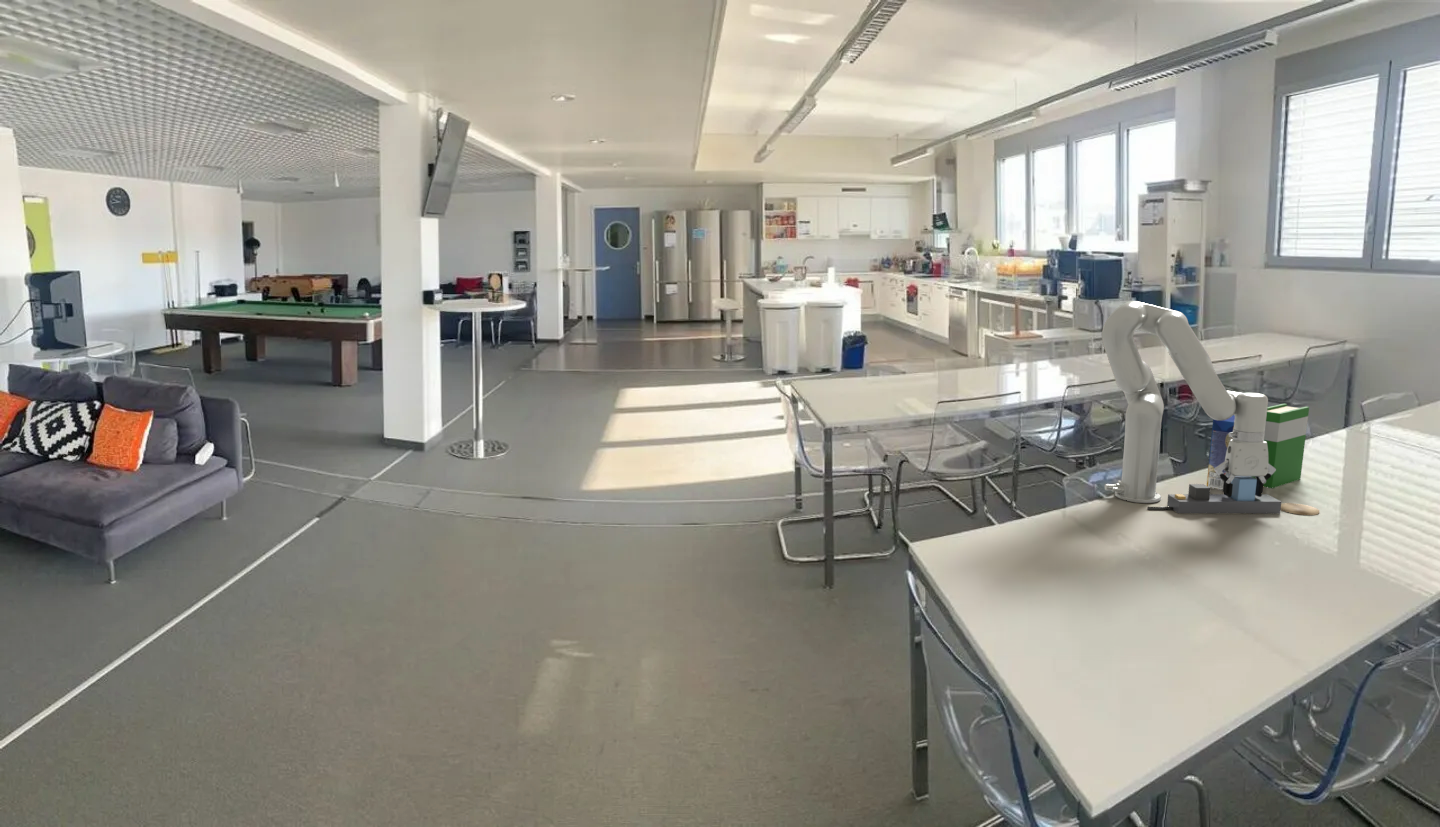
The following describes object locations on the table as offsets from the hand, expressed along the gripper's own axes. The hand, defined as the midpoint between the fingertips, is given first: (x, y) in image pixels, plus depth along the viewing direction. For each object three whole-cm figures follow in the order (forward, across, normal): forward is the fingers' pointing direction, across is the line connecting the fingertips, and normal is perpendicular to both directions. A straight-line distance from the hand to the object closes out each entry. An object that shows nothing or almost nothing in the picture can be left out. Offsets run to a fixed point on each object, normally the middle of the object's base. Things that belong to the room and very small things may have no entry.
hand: (1242, 495), depth 237 cm
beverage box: (+5, +8, +24) cm, 26 cm away
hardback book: (+5, +26, +29) cm, 39 cm away
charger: (+3, 0, 0) cm, 3 cm away
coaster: (+4, +16, 0) cm, 17 cm away
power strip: (+4, -8, 0) cm, 10 cm away
